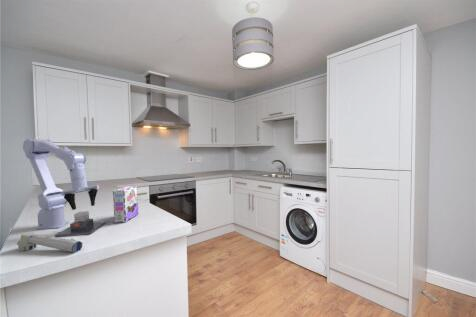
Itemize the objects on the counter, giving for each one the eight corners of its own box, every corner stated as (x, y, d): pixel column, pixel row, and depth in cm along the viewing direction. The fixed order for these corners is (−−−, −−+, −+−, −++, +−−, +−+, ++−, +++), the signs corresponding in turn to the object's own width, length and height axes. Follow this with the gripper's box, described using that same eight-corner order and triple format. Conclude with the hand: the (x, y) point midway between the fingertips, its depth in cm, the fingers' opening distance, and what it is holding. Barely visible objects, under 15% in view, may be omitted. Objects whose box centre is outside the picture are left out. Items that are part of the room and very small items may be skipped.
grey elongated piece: (71, 244, 75) (13, 232, 79) (70, 262, 75) (12, 249, 79) (84, 238, 80) (29, 227, 84) (83, 255, 81) (28, 243, 85)
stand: (55, 237, 92) (54, 227, 92) (75, 225, 106) (74, 217, 105) (90, 234, 94) (90, 225, 94) (105, 223, 108) (105, 215, 107)
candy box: (125, 222, 108) (123, 190, 107) (114, 223, 108) (112, 190, 107) (138, 214, 121) (137, 185, 121) (128, 214, 122) (127, 185, 121)
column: (74, 229, 97) (73, 214, 97) (80, 226, 101) (79, 211, 101) (84, 228, 98) (83, 213, 98) (89, 225, 102) (88, 211, 102)
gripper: (55, 182, 94) (61, 212, 94) (93, 176, 98) (98, 205, 98) (63, 181, 101) (68, 210, 101) (98, 175, 105) (103, 203, 105)
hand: (83, 207), depth 100 cm, fingers open, 7 cm apart
